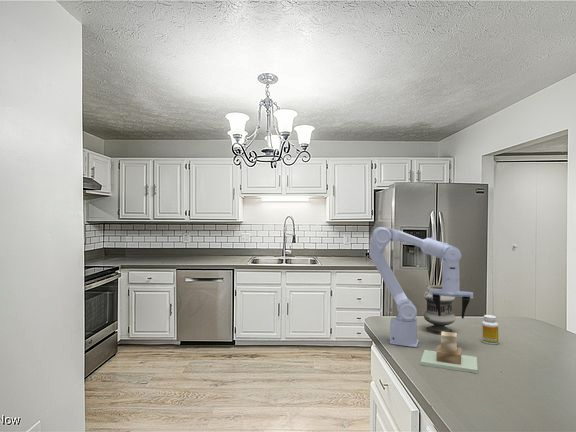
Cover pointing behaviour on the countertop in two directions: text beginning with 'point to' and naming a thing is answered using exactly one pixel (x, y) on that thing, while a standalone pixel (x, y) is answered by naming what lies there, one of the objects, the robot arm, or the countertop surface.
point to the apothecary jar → (432, 312)
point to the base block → (449, 356)
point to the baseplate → (466, 363)
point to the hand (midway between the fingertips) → (451, 316)
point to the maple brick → (449, 342)
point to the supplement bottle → (490, 330)
